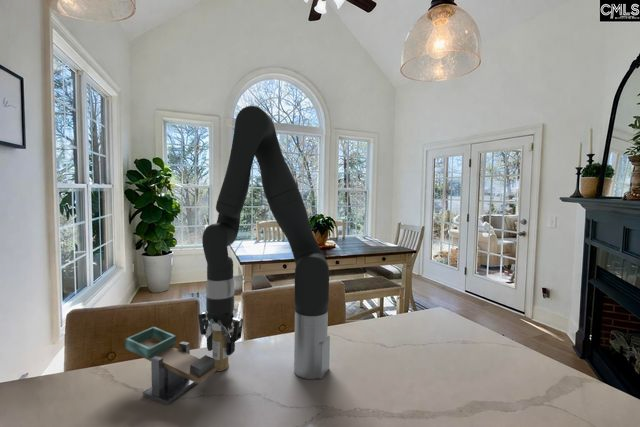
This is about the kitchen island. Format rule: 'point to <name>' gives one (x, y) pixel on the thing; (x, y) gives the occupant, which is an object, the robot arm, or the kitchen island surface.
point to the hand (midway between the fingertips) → (220, 351)
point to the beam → (170, 354)
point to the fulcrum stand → (167, 380)
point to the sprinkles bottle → (219, 348)
